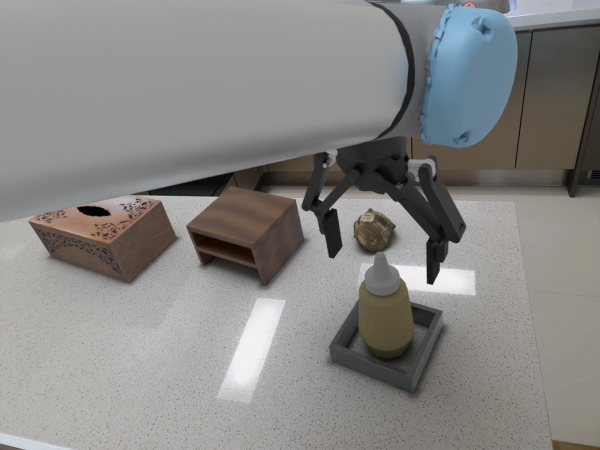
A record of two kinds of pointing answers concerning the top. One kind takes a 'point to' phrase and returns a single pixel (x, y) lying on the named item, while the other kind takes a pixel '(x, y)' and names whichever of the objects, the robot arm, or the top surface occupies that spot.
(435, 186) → the robot arm
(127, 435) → the top surface
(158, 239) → the tissue box cover
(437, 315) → the holder
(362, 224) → the fossilized seashell
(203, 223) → the wooden shelf
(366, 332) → the squeeze bottle
